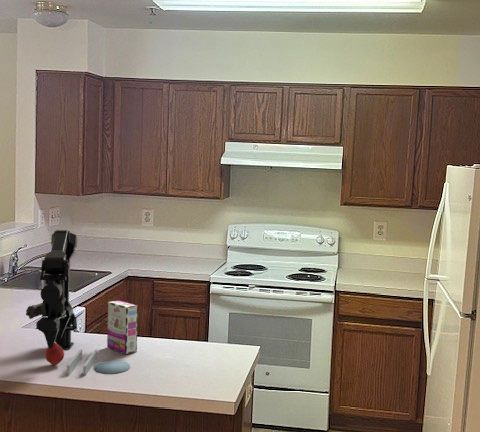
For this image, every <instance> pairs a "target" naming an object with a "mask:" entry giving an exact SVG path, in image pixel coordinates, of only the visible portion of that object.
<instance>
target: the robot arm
mask: <svg viewBox="0 0 480 432" xmlns="http://www.w3.org/2000/svg"><path fill="white" fill-rule="evenodd" d="M50 241H51V242H50V245H51V250H50V251H49V252H47V253H46V254H45V256H44V258H43V259H42V261H41V268H40V276H39V277H40V280H39V281H44V286H43V287H42V289H41V290H40V298H41V300H42V302H41V303H38V304H37V303H36V304H32V305H29V306H28V307H27V309H25V311H26V313H25V316H28V319H30V320H31V319H34V318H37V317H40V316H41V318H40V319H39V320H38V321H36V323H35V324H36V325H35V327H36V328H35V329H37V330H38V331H40V332H41V333H42V334H43V335H44V339H45V341H46V344H47V348H52V347H53V345H54V342H56V343H57V344H58V345H60V346H61V347H62V349H63V350H70V349H71V348H72V347H73V346H74V344H75V343H74V342H72V331H73V332H74V331H75V330H78V321H77V317H76V314H75V313H74V308H73V306H72V304H71V303H70V301H69V300H70V283H71V281H70V280H71V279H70V278H71V276H70V275H71V260H72V258H73V256H74V255H75V253H76V248H77V247H78V236H77V234H76V233H72V232H71V231H70V230H68V229H67V230H63V229H62V230H60V229H56V230H54V232H53V233H51V238H50Z"/></svg>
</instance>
